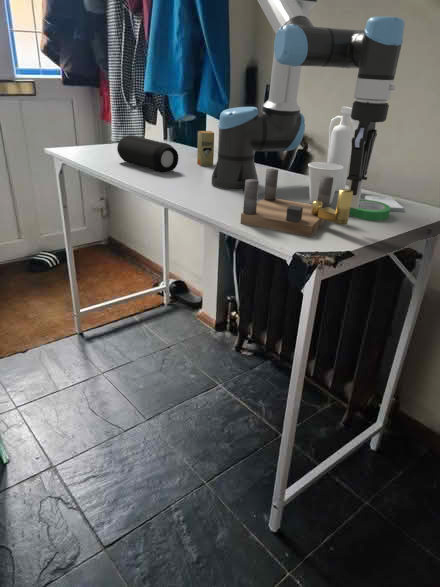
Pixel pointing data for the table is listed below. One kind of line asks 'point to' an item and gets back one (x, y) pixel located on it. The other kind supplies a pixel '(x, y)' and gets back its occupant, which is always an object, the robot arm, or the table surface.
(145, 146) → the portable speaker
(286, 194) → the table surface
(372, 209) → the tape roll
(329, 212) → the leg
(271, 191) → the wooden peg board
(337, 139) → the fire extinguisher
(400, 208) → the external hard drive
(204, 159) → the shoe polish box
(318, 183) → the cup
